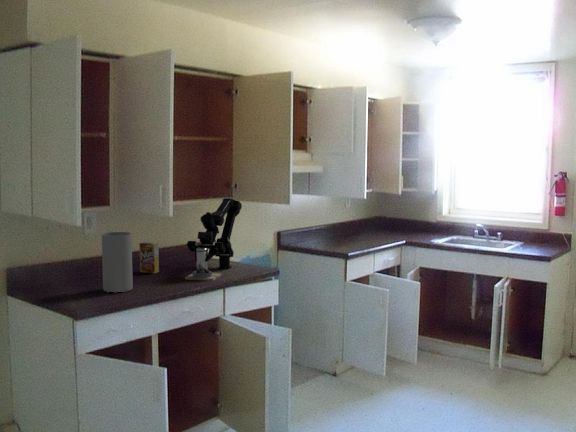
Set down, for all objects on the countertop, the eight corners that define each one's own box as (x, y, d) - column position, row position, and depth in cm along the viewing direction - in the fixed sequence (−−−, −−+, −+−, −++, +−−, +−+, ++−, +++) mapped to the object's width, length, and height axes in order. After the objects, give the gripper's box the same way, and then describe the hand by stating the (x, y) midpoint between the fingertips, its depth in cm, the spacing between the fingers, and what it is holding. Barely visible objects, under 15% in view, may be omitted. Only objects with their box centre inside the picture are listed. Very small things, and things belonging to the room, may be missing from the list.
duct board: (195, 273, 294) (195, 271, 294) (222, 275, 291) (222, 273, 291) (185, 279, 280) (185, 277, 280) (212, 280, 277) (212, 278, 277)
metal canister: (196, 272, 285) (196, 247, 284) (208, 272, 286) (207, 247, 285) (196, 275, 280) (196, 249, 279) (208, 274, 281) (207, 249, 279)
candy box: (139, 272, 296) (138, 242, 295) (144, 271, 300) (143, 241, 299) (154, 273, 293) (153, 243, 292) (159, 272, 297) (158, 242, 296)
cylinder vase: (101, 288, 260) (99, 232, 258) (129, 285, 266) (128, 231, 263) (105, 294, 249) (104, 236, 247) (135, 291, 255) (134, 234, 252)
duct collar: (196, 273, 289) (196, 269, 288) (214, 274, 287) (214, 270, 286) (190, 277, 280) (190, 273, 280) (207, 278, 278) (207, 274, 278)
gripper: (188, 224, 287) (177, 250, 278) (222, 226, 282) (213, 252, 272) (195, 238, 296) (185, 263, 286) (229, 239, 290) (220, 265, 281)
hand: (200, 261), depth 281 cm, fingers closed on metal canister, 5 cm apart
